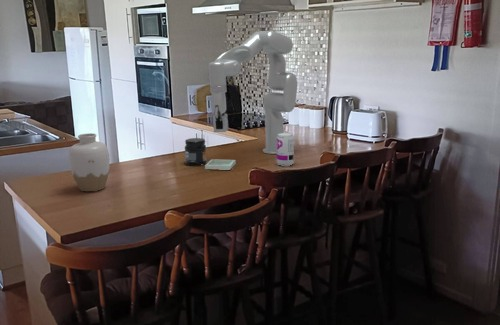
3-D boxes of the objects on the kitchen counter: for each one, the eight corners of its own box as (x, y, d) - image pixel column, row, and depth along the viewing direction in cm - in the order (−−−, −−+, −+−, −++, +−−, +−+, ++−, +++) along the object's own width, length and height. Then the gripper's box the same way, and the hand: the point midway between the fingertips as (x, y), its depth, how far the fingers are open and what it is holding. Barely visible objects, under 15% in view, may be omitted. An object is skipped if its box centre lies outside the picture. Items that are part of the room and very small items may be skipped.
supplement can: (280, 167, 230) (279, 136, 227) (274, 163, 238) (274, 133, 234) (296, 165, 232) (296, 135, 229) (290, 161, 240) (290, 132, 236)
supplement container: (209, 161, 244) (208, 138, 241) (202, 166, 234) (201, 142, 231) (190, 160, 247) (189, 137, 244) (182, 165, 237) (180, 141, 234)
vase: (98, 181, 213) (93, 130, 208) (119, 187, 203) (115, 133, 198) (64, 190, 201) (58, 136, 196) (86, 197, 192) (80, 140, 186)
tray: (211, 163, 239) (211, 159, 238) (235, 164, 237) (235, 159, 236) (205, 170, 228) (204, 165, 227) (230, 171, 225) (229, 166, 225)
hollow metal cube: (216, 129, 232) (215, 113, 230) (228, 129, 231) (227, 113, 229) (214, 132, 227) (212, 116, 225) (225, 132, 226) (224, 116, 223)
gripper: (215, 86, 232) (217, 123, 237) (205, 92, 216) (208, 131, 221) (230, 86, 230) (232, 123, 236) (221, 91, 214) (224, 131, 220)
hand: (221, 127), depth 228 cm, fingers closed on hollow metal cube, 5 cm apart
